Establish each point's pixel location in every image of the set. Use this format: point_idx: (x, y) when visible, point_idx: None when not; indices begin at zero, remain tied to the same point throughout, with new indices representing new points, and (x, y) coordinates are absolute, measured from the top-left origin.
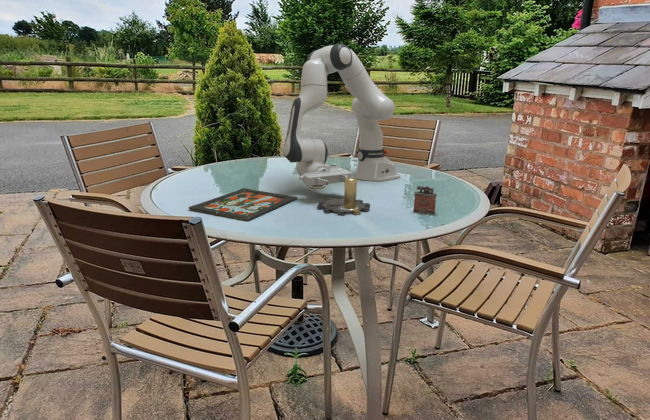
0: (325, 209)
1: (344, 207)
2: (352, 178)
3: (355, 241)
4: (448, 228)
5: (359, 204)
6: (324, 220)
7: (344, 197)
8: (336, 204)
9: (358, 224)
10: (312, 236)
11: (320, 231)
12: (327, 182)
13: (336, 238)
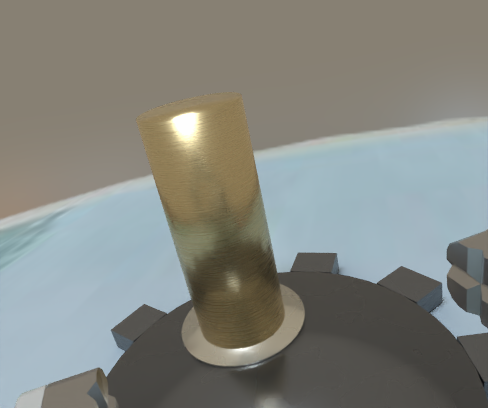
0: (423, 280)
1: (283, 304)
2: (174, 109)
3: (300, 143)
4: (5, 219)
5: (137, 392)
6: (407, 216)
7: (271, 246)
8: (339, 389)
9: None
10: (425, 139)
11: (406, 158)
12: (454, 259)
13: (350, 143)
